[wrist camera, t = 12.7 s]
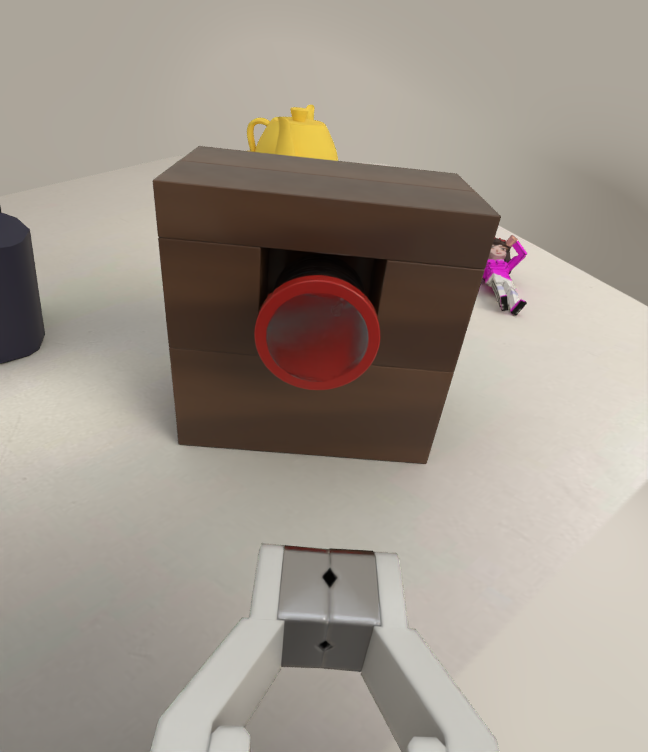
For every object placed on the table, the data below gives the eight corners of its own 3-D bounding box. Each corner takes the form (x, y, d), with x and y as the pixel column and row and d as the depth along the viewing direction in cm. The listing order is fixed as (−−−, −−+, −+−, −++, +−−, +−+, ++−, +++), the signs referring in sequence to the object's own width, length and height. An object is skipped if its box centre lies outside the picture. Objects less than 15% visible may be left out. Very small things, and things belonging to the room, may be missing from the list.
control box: (426, 464, 27) (501, 215, 19) (178, 444, 27) (152, 179, 19) (407, 383, 34) (458, 173, 26) (208, 366, 33) (198, 145, 25)
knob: (370, 395, 21) (390, 287, 18) (252, 385, 21) (255, 274, 18) (364, 348, 25) (381, 250, 22) (263, 340, 24) (266, 239, 21)
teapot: (260, 171, 84) (262, 96, 78) (344, 183, 83) (353, 108, 76) (220, 198, 68) (218, 106, 61) (324, 214, 66) (333, 121, 60)
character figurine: (532, 326, 46) (506, 265, 55) (552, 278, 42) (520, 222, 51) (472, 320, 46) (456, 260, 55) (487, 273, 42) (467, 217, 51)
